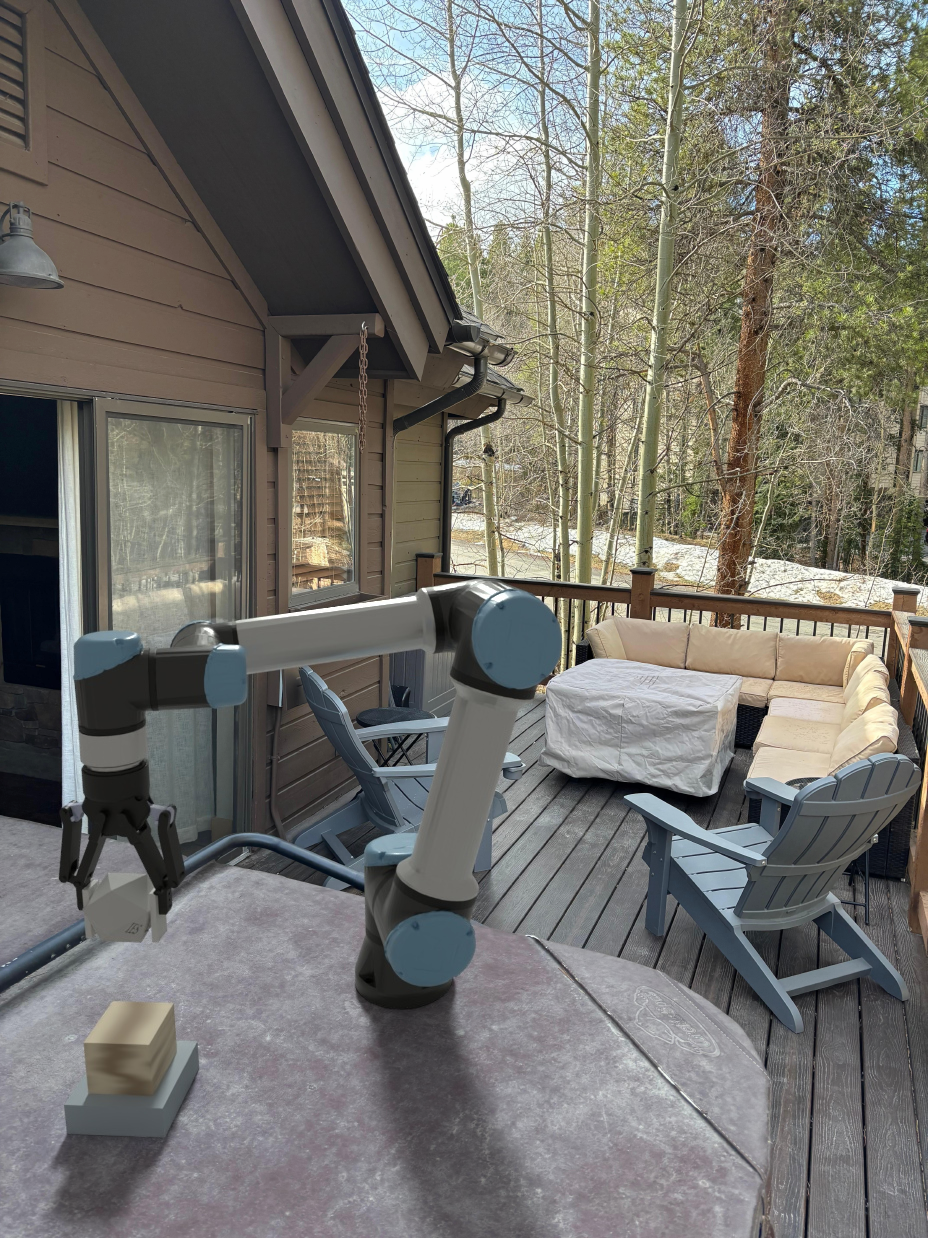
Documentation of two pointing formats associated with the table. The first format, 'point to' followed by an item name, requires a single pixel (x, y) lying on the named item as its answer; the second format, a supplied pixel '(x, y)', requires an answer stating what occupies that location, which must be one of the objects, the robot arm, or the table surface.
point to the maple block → (130, 1048)
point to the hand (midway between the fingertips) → (126, 934)
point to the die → (121, 907)
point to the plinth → (134, 1102)
